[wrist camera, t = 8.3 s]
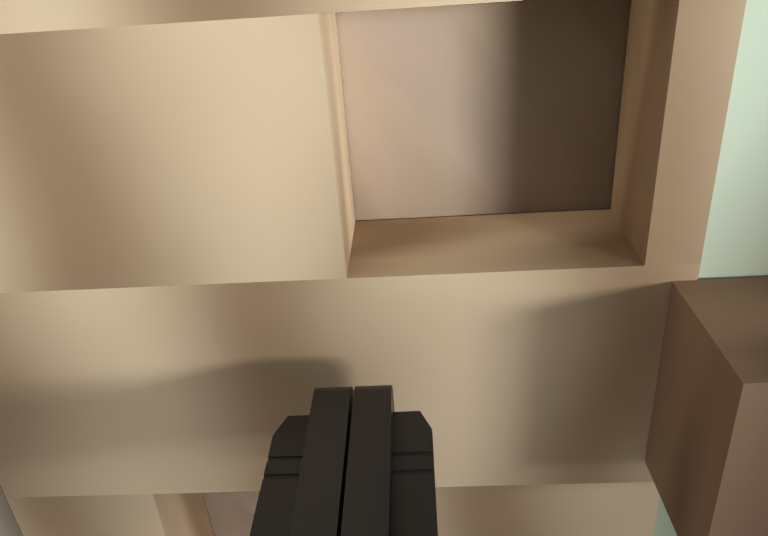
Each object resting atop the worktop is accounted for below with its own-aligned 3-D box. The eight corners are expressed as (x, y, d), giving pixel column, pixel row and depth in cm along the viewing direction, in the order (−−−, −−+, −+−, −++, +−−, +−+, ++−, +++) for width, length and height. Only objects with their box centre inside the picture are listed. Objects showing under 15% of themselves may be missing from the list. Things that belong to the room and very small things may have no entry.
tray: (1113, -93, 12) (1453, -77, 8) (864, 543, 20) (977, 708, 16) (-115, -8, 13) (-332, 41, 9) (104, 557, 21) (35, 714, 17)
